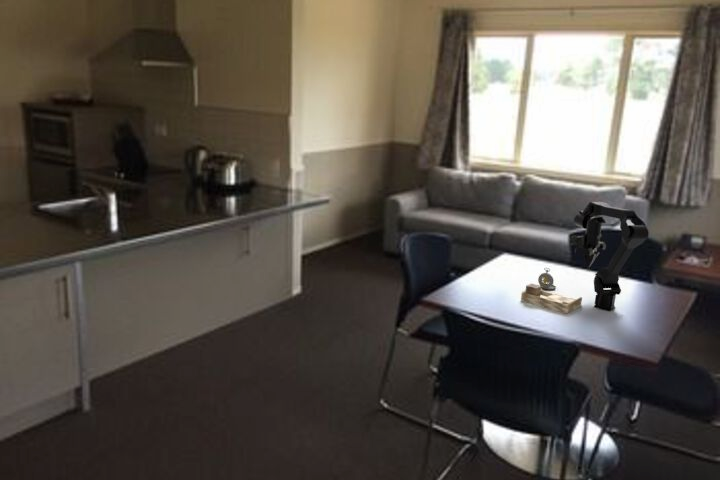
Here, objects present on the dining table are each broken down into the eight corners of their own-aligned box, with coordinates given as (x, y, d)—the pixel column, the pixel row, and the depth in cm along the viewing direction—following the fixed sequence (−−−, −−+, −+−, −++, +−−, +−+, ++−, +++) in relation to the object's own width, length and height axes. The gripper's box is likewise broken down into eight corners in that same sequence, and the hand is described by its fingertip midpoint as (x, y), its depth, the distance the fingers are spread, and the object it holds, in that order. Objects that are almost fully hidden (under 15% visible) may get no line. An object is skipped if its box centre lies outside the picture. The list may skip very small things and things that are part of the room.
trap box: (580, 305, 246) (582, 297, 245) (566, 313, 236) (567, 305, 235) (536, 293, 259) (537, 285, 258) (520, 300, 248) (521, 292, 248)
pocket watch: (553, 286, 270) (556, 264, 267) (557, 292, 261) (561, 270, 259) (535, 284, 270) (537, 263, 268) (538, 290, 262) (541, 268, 260)
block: (540, 296, 248) (541, 286, 247) (535, 298, 245) (536, 288, 244) (529, 293, 251) (531, 283, 250) (524, 296, 248) (526, 285, 247)
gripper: (583, 225, 264) (578, 259, 268) (565, 230, 250) (560, 267, 254) (608, 230, 257) (603, 265, 261) (591, 236, 243) (586, 273, 247)
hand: (587, 267), depth 256 cm, fingers closed
